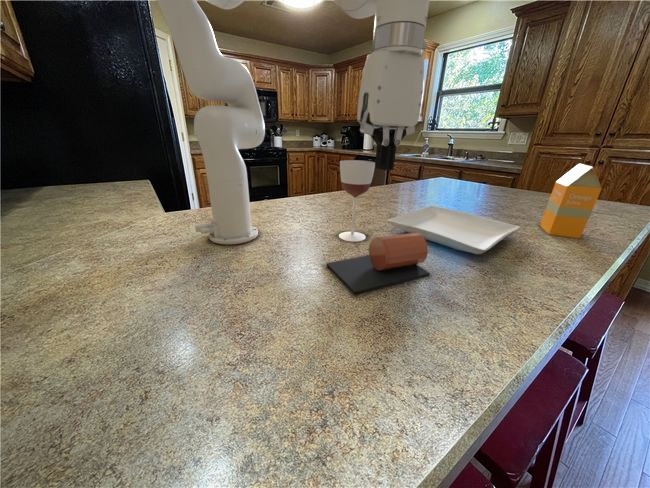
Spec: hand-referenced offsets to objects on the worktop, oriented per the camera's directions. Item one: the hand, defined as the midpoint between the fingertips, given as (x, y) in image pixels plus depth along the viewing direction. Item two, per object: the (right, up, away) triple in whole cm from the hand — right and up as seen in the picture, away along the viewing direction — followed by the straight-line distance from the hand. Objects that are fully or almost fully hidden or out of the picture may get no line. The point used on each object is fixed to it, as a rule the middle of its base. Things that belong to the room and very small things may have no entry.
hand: (384, 168), depth 48 cm
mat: (0, -19, +9) cm, 21 cm away
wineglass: (-3, -12, +27) cm, 29 cm away
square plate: (+26, -11, +30) cm, 41 cm away
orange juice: (+62, -10, +34) cm, 71 cm away
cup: (0, -16, +7) cm, 17 cm away
